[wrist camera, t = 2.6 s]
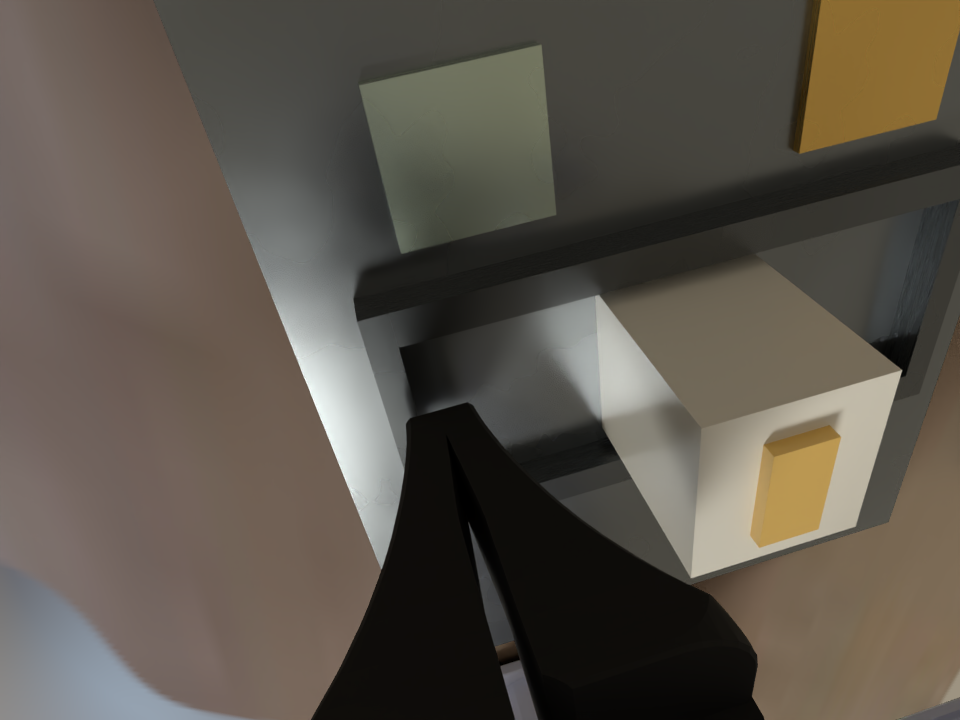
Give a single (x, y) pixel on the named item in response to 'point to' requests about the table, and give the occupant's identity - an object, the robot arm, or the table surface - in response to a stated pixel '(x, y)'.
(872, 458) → the toggle
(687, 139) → the panel
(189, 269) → the table surface
